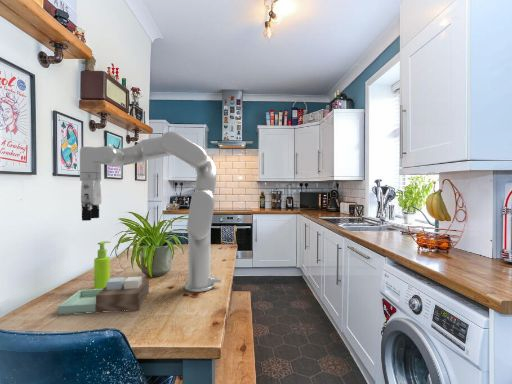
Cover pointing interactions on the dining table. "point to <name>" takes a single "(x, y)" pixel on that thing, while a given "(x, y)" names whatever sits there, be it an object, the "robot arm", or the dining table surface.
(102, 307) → the brown wooden block
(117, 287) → the pale blue square block
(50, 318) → the dining table surface
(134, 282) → the cream square block
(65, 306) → the box
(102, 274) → the soap dispenser
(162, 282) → the dining table surface
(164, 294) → the dining table surface
